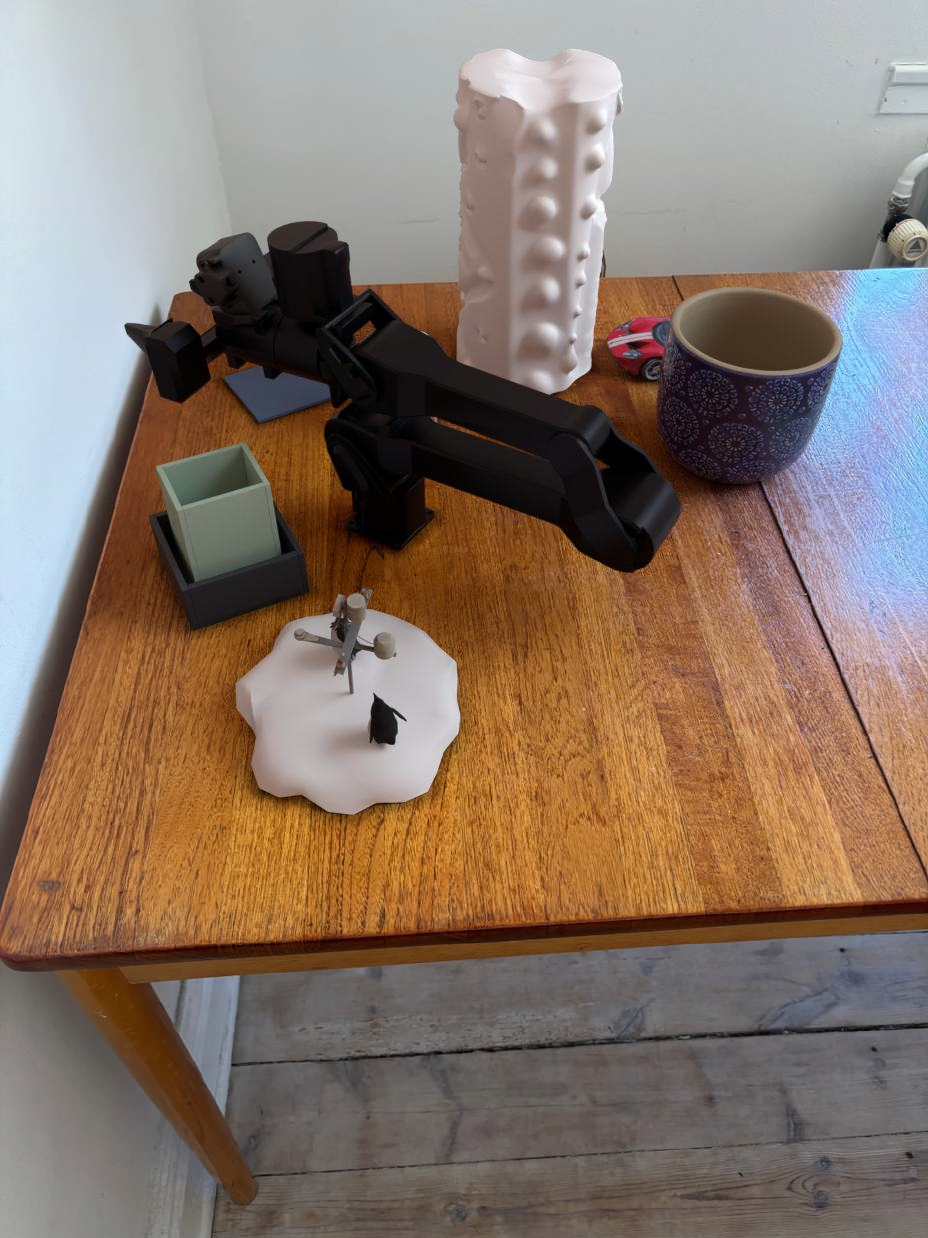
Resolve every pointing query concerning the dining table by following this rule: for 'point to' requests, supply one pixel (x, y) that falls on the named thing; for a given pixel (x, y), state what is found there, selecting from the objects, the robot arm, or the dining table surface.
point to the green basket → (219, 511)
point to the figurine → (350, 708)
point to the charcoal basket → (233, 578)
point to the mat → (275, 393)
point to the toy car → (640, 345)
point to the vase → (533, 211)
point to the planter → (744, 381)
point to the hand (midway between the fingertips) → (159, 305)
